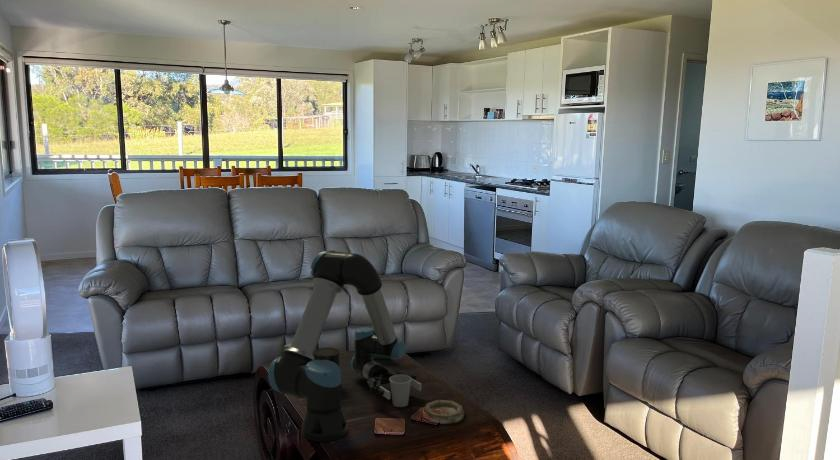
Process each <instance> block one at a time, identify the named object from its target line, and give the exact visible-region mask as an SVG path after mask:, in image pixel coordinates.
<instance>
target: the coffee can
mask: <svg viewBox="0 0 840 460" xmlns="http://www.w3.org/2000/svg"><path fill="white" fill-rule="evenodd" d="M340 354H341V353H340V350H339V348H335V347H321V348H316V349H315V352H314V354H313V357H314V359H315V360H328V361H332V362H334V363H336V364H337V365H338V366H339V367H340V368H341V366H340V362H341V361H340V359H341V358H340Z"/></svg>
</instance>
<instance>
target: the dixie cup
mask: <svg viewBox="0 0 840 460" xmlns="http://www.w3.org/2000/svg"><path fill="white" fill-rule="evenodd" d="M389 380H390V383H389V384H390V385H389V386H390V394H391V401H392V406H394V407H396V408H405V407H407V406H408V405H409V399H410V398H409V397H410V390H411V386H410V384H411V380H412V378H411V377H410V376H408V375H404V374H398V375H393V376H391V377H390V378H389Z"/></svg>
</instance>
